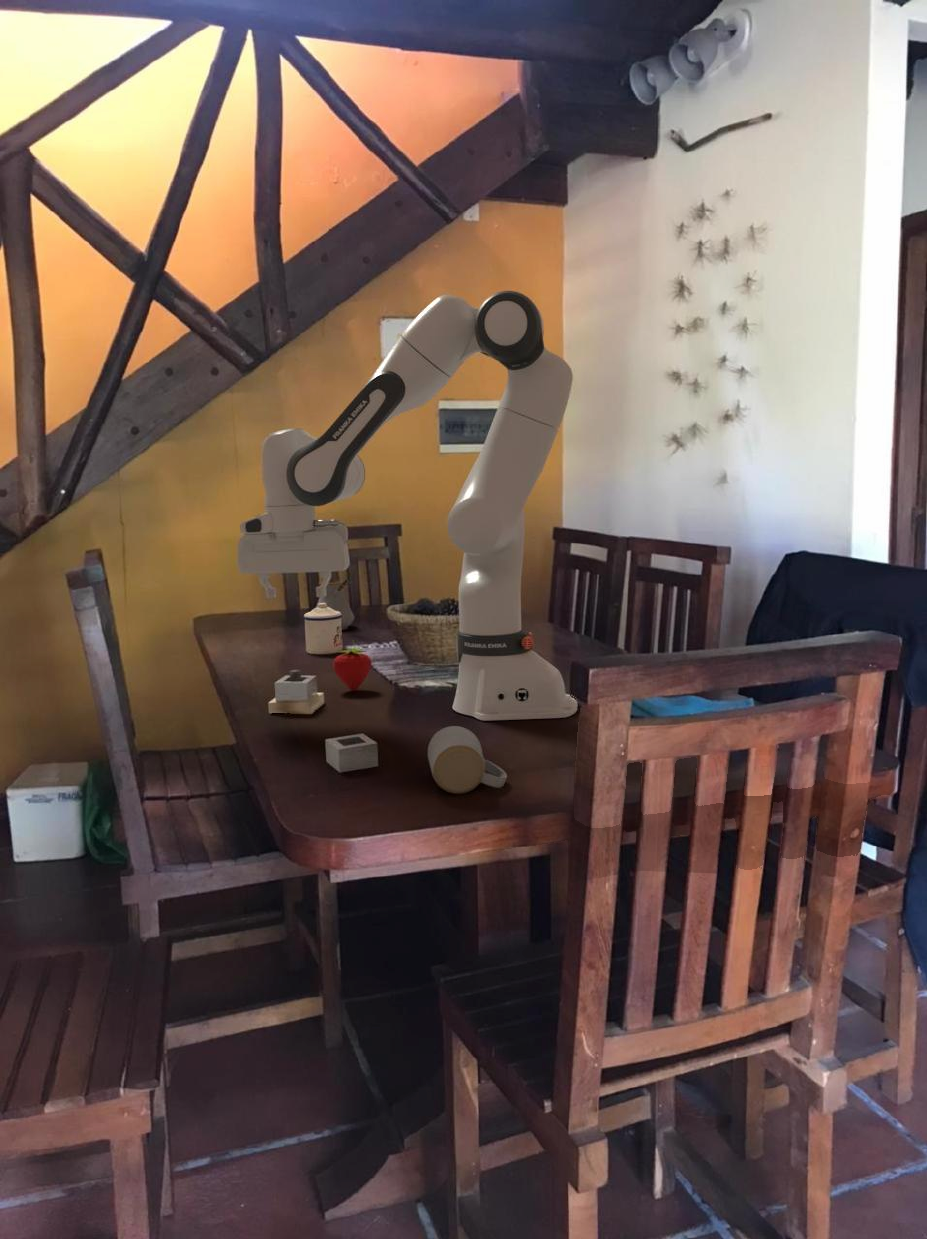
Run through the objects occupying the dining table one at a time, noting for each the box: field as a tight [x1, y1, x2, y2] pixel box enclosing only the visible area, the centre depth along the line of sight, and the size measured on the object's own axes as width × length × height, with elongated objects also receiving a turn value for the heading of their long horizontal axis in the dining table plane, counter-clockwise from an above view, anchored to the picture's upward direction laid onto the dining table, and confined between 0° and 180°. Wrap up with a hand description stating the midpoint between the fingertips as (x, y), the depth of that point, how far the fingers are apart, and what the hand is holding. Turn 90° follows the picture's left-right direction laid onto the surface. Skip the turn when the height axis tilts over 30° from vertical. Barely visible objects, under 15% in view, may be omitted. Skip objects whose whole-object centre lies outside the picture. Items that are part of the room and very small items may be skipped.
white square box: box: [324, 733, 379, 774], centre depth 144 cm, size 6×6×4 cm
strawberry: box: [332, 639, 372, 692], centre depth 191 cm, size 6×8×10 cm
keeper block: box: [267, 669, 325, 715], centre depth 178 cm, size 8×8×7 cm
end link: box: [274, 675, 318, 702], centre depth 178 cm, size 6×6×4 cm
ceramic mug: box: [427, 725, 508, 795], centre depth 133 cm, size 11×8×8 cm
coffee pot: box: [315, 579, 355, 631], centre depth 259 cm, size 21×12×15 cm, turn 22°
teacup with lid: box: [303, 603, 343, 655], centre depth 233 cm, size 12×9×12 cm
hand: (296, 597), depth 176 cm, fingers open, 8 cm apart
